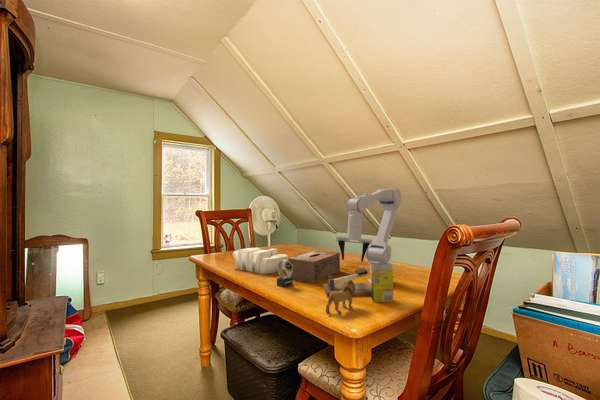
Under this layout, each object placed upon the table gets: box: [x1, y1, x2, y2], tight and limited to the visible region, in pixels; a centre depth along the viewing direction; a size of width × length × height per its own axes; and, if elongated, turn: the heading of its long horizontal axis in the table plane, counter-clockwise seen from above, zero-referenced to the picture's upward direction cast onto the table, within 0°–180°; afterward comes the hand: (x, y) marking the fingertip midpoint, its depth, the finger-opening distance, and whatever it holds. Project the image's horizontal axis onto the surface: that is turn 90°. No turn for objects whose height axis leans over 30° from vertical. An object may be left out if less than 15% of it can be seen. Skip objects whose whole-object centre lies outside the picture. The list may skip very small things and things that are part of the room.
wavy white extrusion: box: [232, 247, 289, 275], centre depth 156 cm, size 35×16×11 cm, turn 52°
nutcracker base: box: [322, 275, 372, 298], centre depth 114 cm, size 19×12×6 cm, turn 92°
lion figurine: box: [325, 279, 355, 315], centre depth 95 cm, size 15×5×9 cm, turn 137°
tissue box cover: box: [287, 249, 341, 284], centre depth 141 cm, size 26×14×10 cm, turn 145°
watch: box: [276, 259, 294, 288], centre depth 124 cm, size 6×8×11 cm
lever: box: [327, 267, 369, 284], centre depth 114 cm, size 16×5×6 cm, turn 92°
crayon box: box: [370, 270, 395, 303], centre depth 103 cm, size 7×3×12 cm, turn 91°
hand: (352, 260), depth 114 cm, fingers open, 7 cm apart
